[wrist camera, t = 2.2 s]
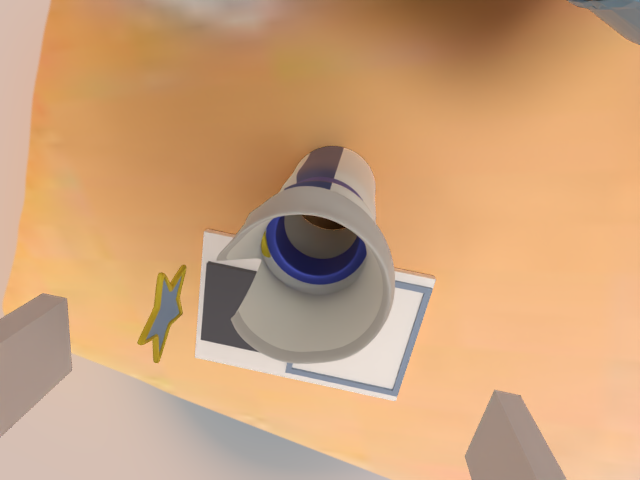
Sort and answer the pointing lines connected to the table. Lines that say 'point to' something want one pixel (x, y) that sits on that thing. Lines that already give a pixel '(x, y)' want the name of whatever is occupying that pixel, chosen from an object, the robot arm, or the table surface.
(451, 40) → the table surface
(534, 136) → the table surface
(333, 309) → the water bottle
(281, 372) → the stamp station
